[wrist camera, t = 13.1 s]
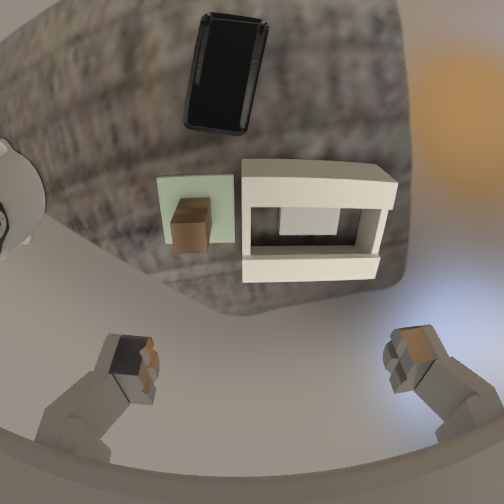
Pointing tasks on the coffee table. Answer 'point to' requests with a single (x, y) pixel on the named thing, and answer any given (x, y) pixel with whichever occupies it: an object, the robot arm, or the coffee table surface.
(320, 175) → the slotted box
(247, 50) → the phone
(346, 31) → the coffee table surface
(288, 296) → the coffee table surface
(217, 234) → the sage mat
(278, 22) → the coffee table surface
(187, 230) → the walnut block
